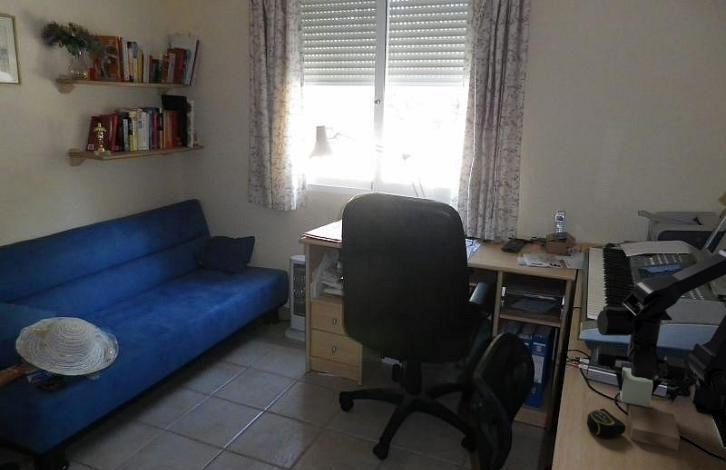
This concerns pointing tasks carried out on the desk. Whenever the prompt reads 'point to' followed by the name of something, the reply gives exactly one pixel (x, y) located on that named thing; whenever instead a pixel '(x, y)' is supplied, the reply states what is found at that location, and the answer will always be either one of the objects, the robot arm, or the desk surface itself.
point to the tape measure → (604, 424)
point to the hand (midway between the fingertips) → (634, 392)
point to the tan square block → (653, 427)
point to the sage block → (635, 389)
